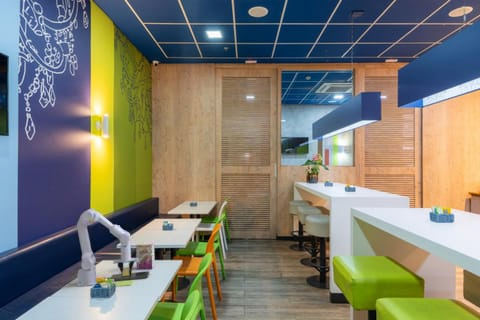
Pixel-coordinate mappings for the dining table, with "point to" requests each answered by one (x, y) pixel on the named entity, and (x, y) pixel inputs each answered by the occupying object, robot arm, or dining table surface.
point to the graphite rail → (132, 277)
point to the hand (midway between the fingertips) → (126, 274)
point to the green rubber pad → (124, 283)
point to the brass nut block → (125, 272)
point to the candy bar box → (145, 256)
